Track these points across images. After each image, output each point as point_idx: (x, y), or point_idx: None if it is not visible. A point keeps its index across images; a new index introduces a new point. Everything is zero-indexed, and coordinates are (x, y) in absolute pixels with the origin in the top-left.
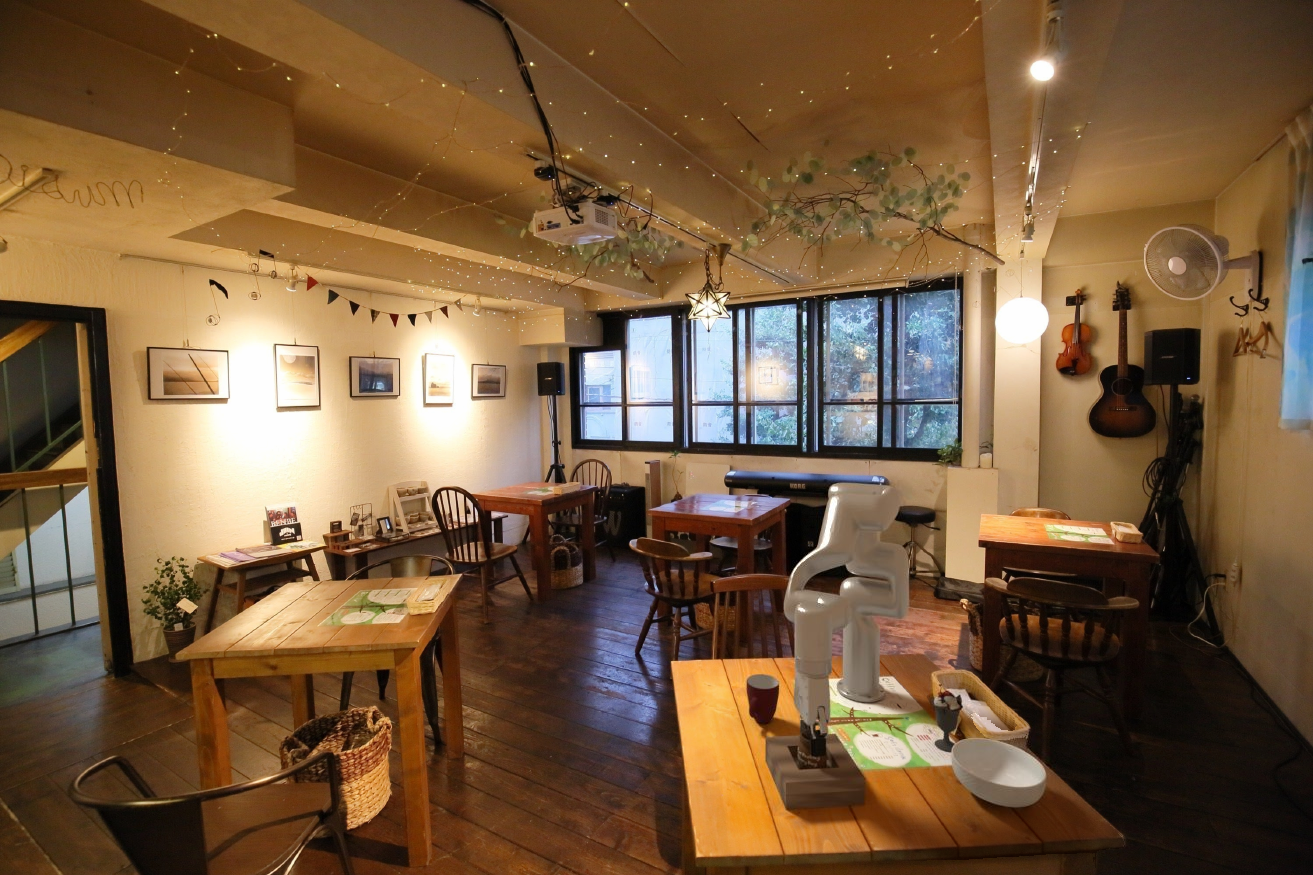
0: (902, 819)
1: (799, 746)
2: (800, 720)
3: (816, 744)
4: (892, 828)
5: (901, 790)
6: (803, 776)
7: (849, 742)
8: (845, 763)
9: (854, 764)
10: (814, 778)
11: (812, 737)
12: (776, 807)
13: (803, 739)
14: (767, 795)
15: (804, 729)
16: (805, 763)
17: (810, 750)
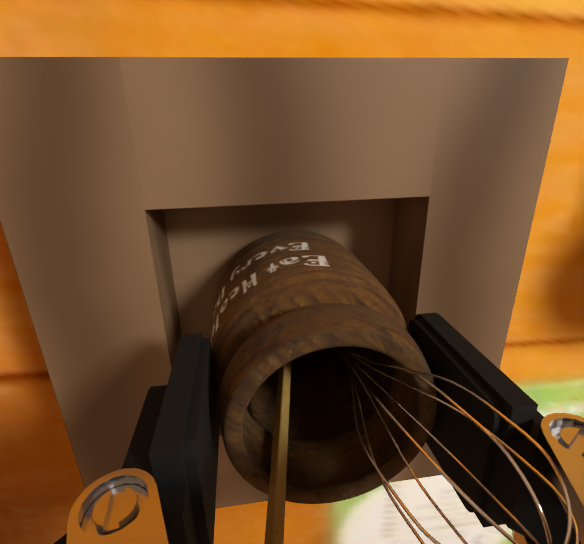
0: (63, 506)
1: (305, 277)
2: (528, 401)
3: (132, 450)
4: (5, 472)
5: (218, 528)
6: (62, 222)
7: None
8: (223, 468)
9: None
10: (52, 289)
11: (140, 475)
12: (65, 30)
13: (283, 342)
14: (170, 4)
15: (446, 378)
16: (234, 271)
17: (183, 354)
